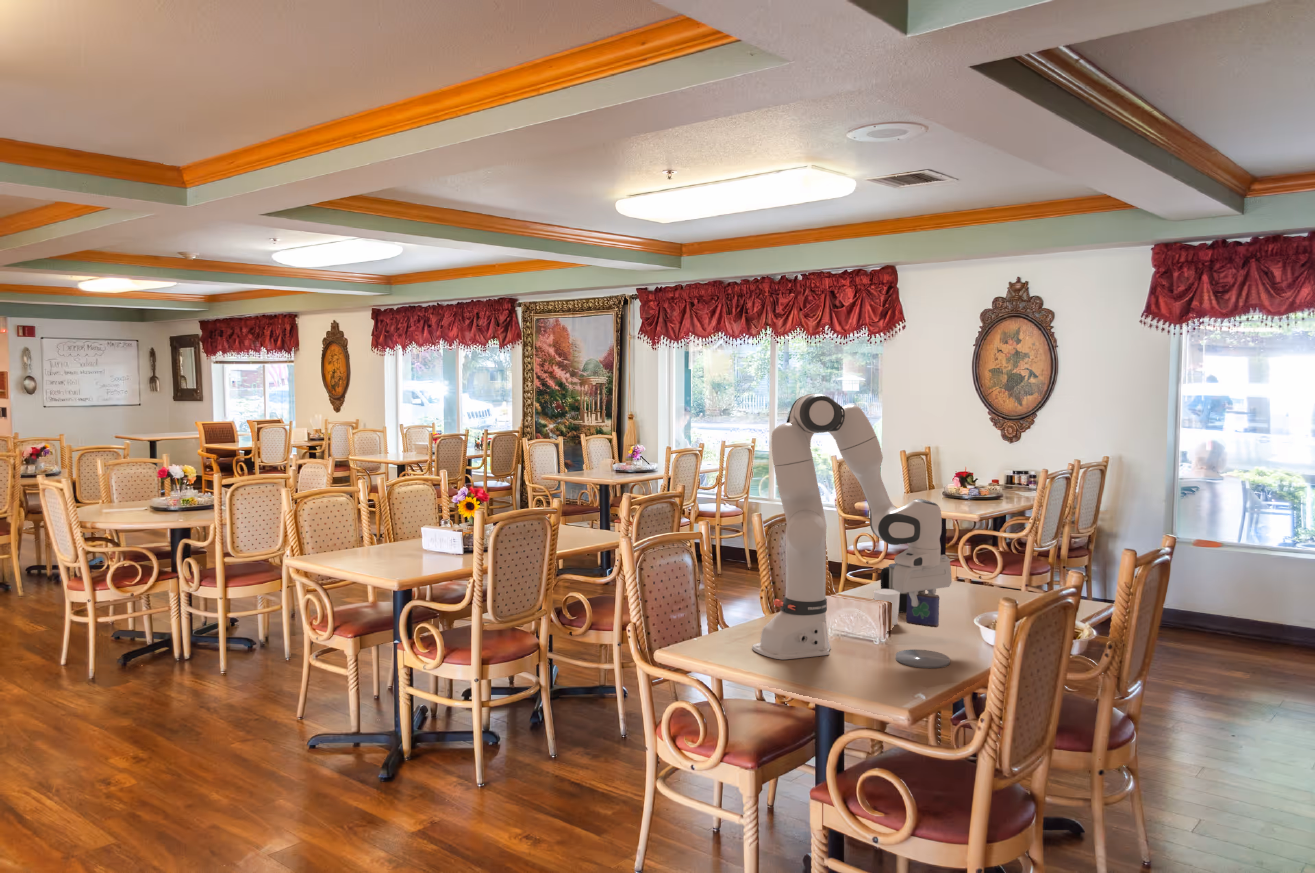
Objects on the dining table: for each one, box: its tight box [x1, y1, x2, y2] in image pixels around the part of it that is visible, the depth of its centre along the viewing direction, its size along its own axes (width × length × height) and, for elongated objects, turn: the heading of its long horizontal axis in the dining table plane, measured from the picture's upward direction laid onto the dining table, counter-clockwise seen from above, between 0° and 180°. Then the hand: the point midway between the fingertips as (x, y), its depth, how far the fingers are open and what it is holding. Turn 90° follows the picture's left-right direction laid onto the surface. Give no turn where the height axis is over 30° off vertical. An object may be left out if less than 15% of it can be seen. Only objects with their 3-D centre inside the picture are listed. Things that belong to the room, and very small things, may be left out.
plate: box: [895, 648, 951, 669], centre depth 248 cm, size 14×14×1 cm
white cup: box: [873, 588, 900, 626], centre depth 288 cm, size 8×8×10 cm
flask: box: [905, 590, 940, 628], centre depth 260 cm, size 9×3×11 cm, turn 56°
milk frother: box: [879, 562, 908, 613], centre depth 305 cm, size 14×16×15 cm
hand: (921, 605), depth 260 cm, fingers closed on flask, 4 cm apart
